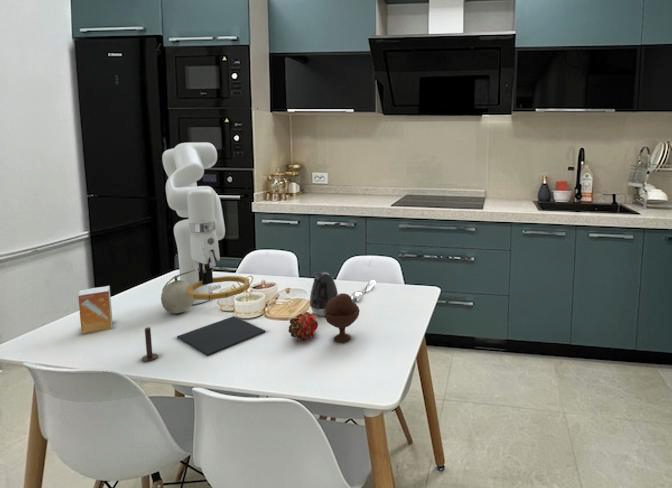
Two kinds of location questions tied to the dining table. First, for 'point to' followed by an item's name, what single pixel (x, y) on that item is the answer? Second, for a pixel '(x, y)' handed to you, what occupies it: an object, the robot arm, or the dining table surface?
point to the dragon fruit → (303, 326)
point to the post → (149, 347)
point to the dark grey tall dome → (322, 292)
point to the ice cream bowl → (341, 315)
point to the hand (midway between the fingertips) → (206, 282)
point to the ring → (233, 292)
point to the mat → (220, 335)
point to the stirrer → (357, 295)
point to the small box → (95, 309)
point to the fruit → (176, 295)
